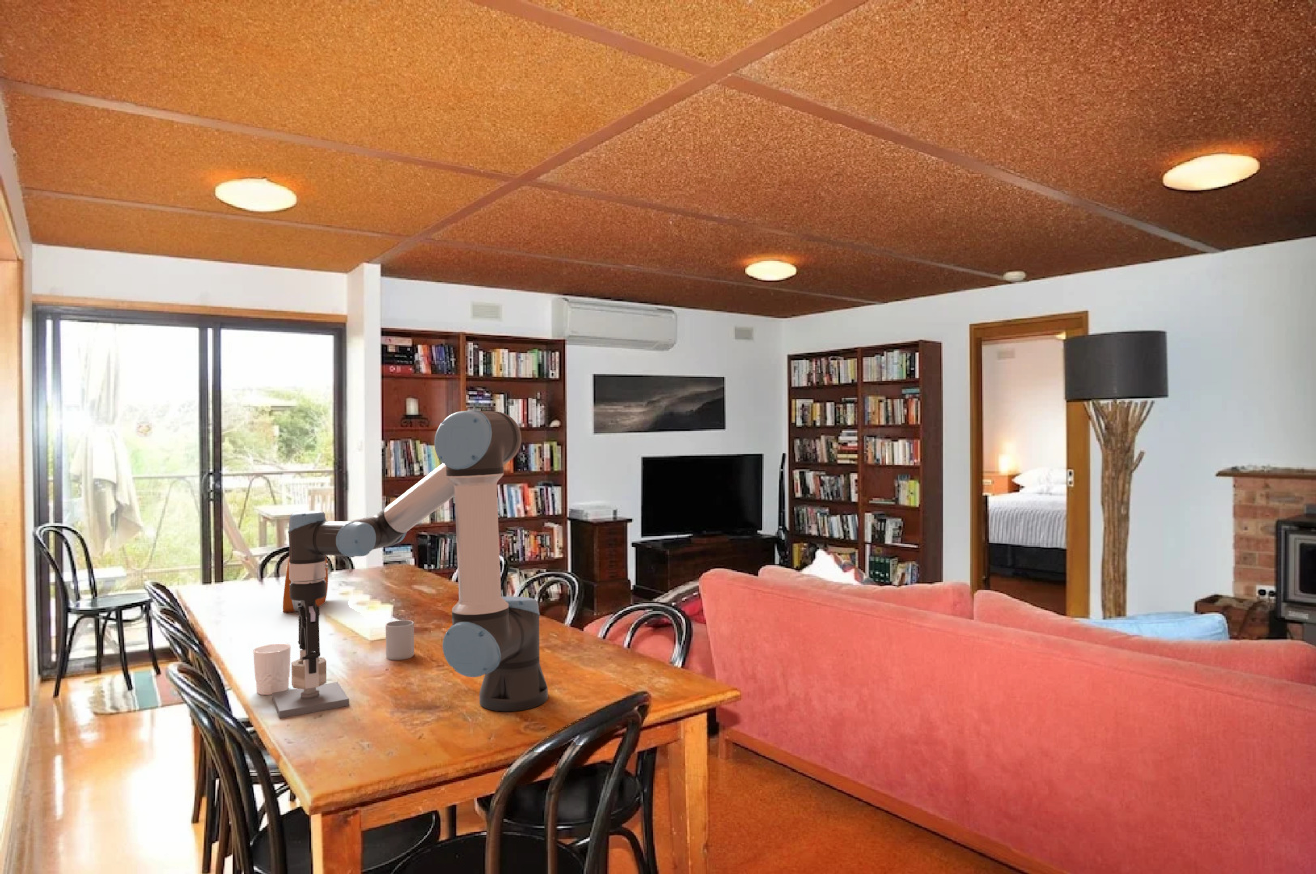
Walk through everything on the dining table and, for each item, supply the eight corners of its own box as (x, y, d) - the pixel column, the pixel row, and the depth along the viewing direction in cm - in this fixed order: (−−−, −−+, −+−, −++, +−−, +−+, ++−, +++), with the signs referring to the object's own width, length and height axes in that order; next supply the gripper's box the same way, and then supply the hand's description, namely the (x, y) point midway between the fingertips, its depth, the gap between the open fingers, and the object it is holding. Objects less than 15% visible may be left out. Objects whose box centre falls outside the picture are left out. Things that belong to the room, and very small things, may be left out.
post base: (349, 705, 176) (348, 662, 176) (279, 718, 169) (278, 673, 169) (337, 688, 188) (336, 648, 188) (272, 699, 181) (271, 657, 181)
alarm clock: (300, 600, 286) (299, 537, 286) (328, 599, 287) (327, 536, 287) (278, 614, 264) (276, 546, 264) (309, 613, 265) (307, 545, 265)
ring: (327, 685, 178) (327, 663, 177) (294, 690, 174) (294, 668, 174) (322, 677, 183) (322, 655, 183) (290, 682, 180) (290, 660, 180)
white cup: (266, 698, 182) (266, 654, 182) (247, 692, 186) (246, 650, 186) (298, 688, 189) (297, 646, 188) (278, 683, 193) (277, 642, 193)
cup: (389, 662, 209) (389, 628, 209) (380, 653, 218) (380, 620, 218) (417, 657, 213) (416, 624, 213) (407, 648, 221) (407, 617, 221)
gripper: (333, 585, 172) (335, 691, 172) (318, 571, 189) (320, 668, 189) (295, 589, 168) (297, 698, 168) (284, 575, 185) (285, 673, 185)
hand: (309, 682), depth 179 cm, fingers closed on ring, 7 cm apart
